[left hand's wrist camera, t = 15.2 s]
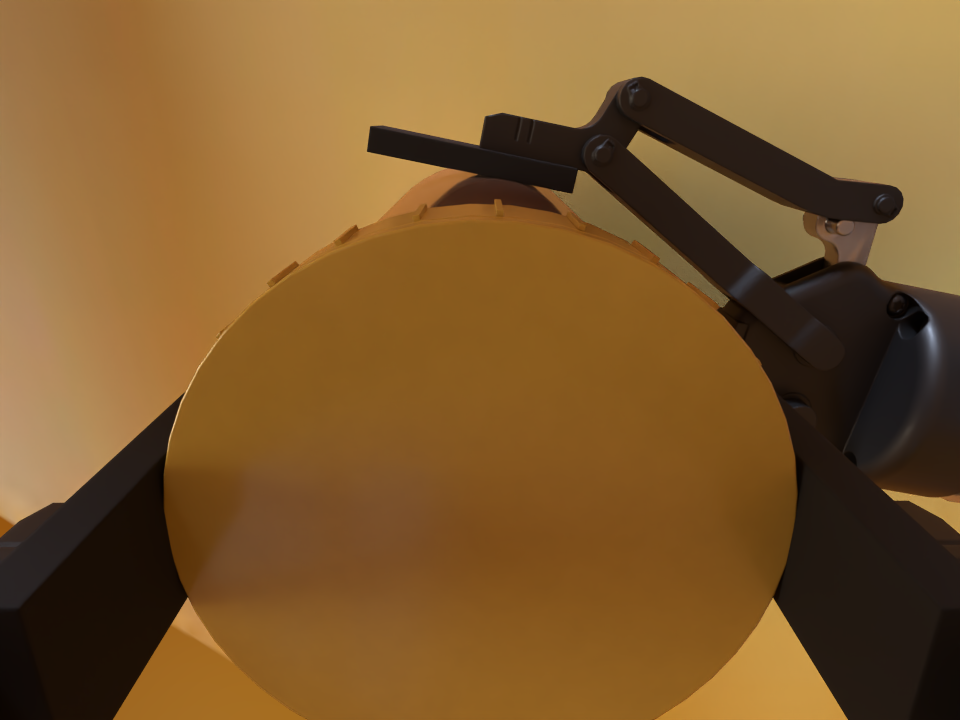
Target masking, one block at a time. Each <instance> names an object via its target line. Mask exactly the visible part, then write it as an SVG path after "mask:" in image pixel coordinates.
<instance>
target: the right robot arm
mask: <svg viewBox="0 0 960 720" xmlns="http://www.w3.org/2000/svg"><path fill="white" fill-rule="evenodd" d="M637 131H640V132H642V133H644V134H646V135H648V136H650V137H652V138H653V139H655V140H657V141H659V142H661V143H663V144H665V145H667V146H669V147H671V148H673V149H675V150H676V151H678V152H680V153H682V154H684V155H686V156H688V157H690V158H692V159H694V160H696V161H697V162H699V163H701V164H703V165H705V166H707V167H709V168H711V169H713V170H715V171H717V172H719V173H720V174H722V175H724V176H726V177H728V178H730V179H732V180H734V181H736V182H738V183H740V184H741V185H743V186H745V187H747V188H749V189H751V190H753V191H755V192H757V193H759V194H761V195H763V196H764V197H766V198H768V199H770V200H772V201H775V202H777V203H779V204H781V205H784V206H788V207H791V208H794V209H798V210H801V211H805V213H804V215H803V221H804V222H803V224H804V228H805V230H806V232H807V233H808V234H809V235H811V236H814V237H816V238H818V239H820V240H821V241H822V242H823V244H824V246H825V257H822V258H819V259H816V260H814V261H812V262H809V263H807V264H804V265H802V266H800V267H797V268H795V269H793V270H790V271H788V272H786V273H783V274H781V275H778V276H776V277H774V278H771V277H769V276H768V275H767V274H766V273H765V272H763V271H762V270H761V269H759V268H758V267H757V266H755V265H754V264H753V263H752V262H751V261H749V260H748V259H747V258H746V257H745V256H744V255H743V254H742V253H741V252H739V251H738V250H737V249H736V248H735V247H734V246H733V245H732V244H731V243H730V242H728V241H727V240H726V239H725V238H724V237H723V236H722V235H721V234H720V233H719V232H717V231H716V230H715V229H714V228H713V227H712V226H711V225H710V224H709V223H708V222H706V221H705V220H704V219H703V218H702V217H701V216H700V215H699V214H698V213H697V212H695V211H694V210H693V209H692V208H691V207H690V206H689V205H688V204H687V203H686V202H685V201H683V200H682V199H681V198H680V197H679V196H678V195H677V194H676V193H675V192H674V191H672V190H671V189H670V188H669V187H668V186H667V185H666V184H665V183H664V182H663V181H661V180H660V179H659V178H658V177H657V176H656V175H655V174H654V173H653V172H652V171H650V170H649V169H648V168H647V167H646V166H645V165H644V164H643V163H642V162H641V161H639V160H638V159H637V158H636V157H635V156H634V155H633V154H632V153H631V152H630V151H628V150H627V149H626V148H627V146H628V145H629V143H630V142H631V140H632V139H633V137H634V135H635V134H636V132H637ZM367 152H371V153H376V154H381V155H386V156H391V157H395V158H400V159H405V160H410V161H415V162H420V163H425V164H430V165H435V166H440V167H444V168H449V169H454V170H459V171H464V172H469V173H474V174H479V175H484V176H489V177H493V178H498V179H503V180H508V181H513V182H518V183H523V184H528V185H533V186H537V187H542V188H547V189H552V190H557V191H562V192H567V193H573V189H574V184H575V180H576V176H577V172H578V170H581V171H585V172H586V173H588V174H589V175H590V176H591V177H592V178H593V179H594V180H596V181H597V182H598V183H599V184H600V185H601V186H602V187H603V188H605V189H606V190H607V191H608V192H609V193H610V194H611V195H613V196H614V197H615V198H616V199H617V200H618V201H619V202H620V203H622V204H623V205H624V206H625V207H626V208H627V209H628V210H630V211H631V212H632V213H633V214H634V215H635V216H636V217H637V218H639V219H640V220H641V221H642V222H643V223H644V224H645V225H647V226H648V227H649V228H650V229H651V230H652V231H653V232H654V233H656V234H657V235H658V236H659V237H660V238H661V239H662V240H664V241H665V242H666V243H667V244H668V245H669V246H670V247H671V248H673V249H674V250H675V251H676V252H677V253H678V254H679V255H681V256H682V257H683V258H684V259H685V260H686V261H687V262H688V263H690V264H691V265H692V266H693V267H694V268H695V269H696V270H698V271H699V272H700V273H701V274H702V275H703V276H704V277H705V278H706V279H707V280H708V281H709V282H710V283H711V284H712V285H714V286H715V287H716V288H717V289H718V290H719V291H720V292H722V293H723V294H724V295H725V296H726V297H727V298H728V299H729V301H728V302H727V304H726V305H725V306H724V308H722V307H719V308H718V309H717V311H718V312H719V313H720V314H721V315H723V316H724V317H725V319H726V320H727V321H728V322H729V323H730V325H731V326H732V327H733V328H734V329H735V331H736V332H737V333H738V334H739V335H740V336H741V338H742V339H743V340H744V341H745V342H746V344H747V345H748V346H749V347H750V348H751V350H752V352H753V353H754V355H755V357H756V358H758V359H759V360H760V362H761V364H762V365H761V366H762V368H763V370H764V371H765V373H766V375H767V376H768V378H769V380H770V381H771V383H772V385H773V388H774V390H775V392H776V393H777V394H778V395H779V396H781V397H782V398H783V399H784V400H785V401H786V402H787V403H788V404H789V405H790V406H791V407H792V408H794V409H795V410H796V411H797V412H798V413H799V414H800V415H801V416H802V417H803V418H804V419H806V420H807V421H808V422H809V423H810V424H811V425H812V426H813V427H814V428H815V429H816V430H817V431H819V432H820V433H821V434H822V435H823V436H824V437H825V438H826V439H827V440H828V441H829V442H831V443H832V444H833V445H834V446H835V447H836V448H837V449H838V450H839V451H840V452H841V453H842V454H844V455H845V456H846V457H847V458H848V459H849V460H850V461H851V462H852V463H853V464H854V465H856V466H857V467H858V468H859V469H860V470H861V471H862V472H863V473H864V474H865V475H866V476H867V477H869V478H870V479H871V480H872V481H873V482H874V483H875V484H876V485H877V486H878V487H879V488H881V489H886V490H891V491H897V492H902V493H908V494H914V495H919V496H925V497H941V498H943V499H945V500H947V501H951V502H957V503H960V296H958V295H953V294H948V293H943V292H938V291H933V290H928V289H923V288H918V287H913V286H908V285H903V284H898V283H893V282H888V281H883V280H881V279H880V278H879V277H878V276H876V274H875V273H874V272H873V271H872V270H871V269H870V268H868V267H867V266H865V265H866V262H867V259H868V255H869V252H870V249H871V245H872V242H873V239H874V235H875V232H876V229H877V225H878V224H881V223H887V222H889V221H891V220H893V219H894V218H895V217H896V216H897V215H898V214H899V212H900V211H901V209H902V207H903V196H902V193H901V192H900V190H899V189H898V188H896V187H893V186H890V185H884V184H878V183H872V182H865V181H859V180H853V179H844V178H834V177H831V176H829V175H827V174H825V173H824V172H822V171H820V170H818V169H816V168H814V167H812V166H811V165H809V164H807V163H805V162H803V161H801V160H799V159H798V158H796V157H794V156H792V155H790V154H788V153H786V152H785V151H783V150H781V149H779V148H777V147H775V146H773V145H772V144H770V143H768V142H766V141H764V140H762V139H760V138H759V137H757V136H755V135H753V134H751V133H749V132H747V131H746V130H744V129H742V128H740V127H738V126H736V125H734V124H733V123H731V122H729V121H727V120H725V119H723V118H721V117H720V116H718V115H716V114H714V113H712V112H710V111H708V110H707V109H705V108H703V107H701V106H699V105H697V104H695V103H693V102H692V101H690V100H688V99H686V98H684V97H682V96H680V95H679V94H677V93H675V92H673V91H671V90H669V89H667V88H666V87H664V86H662V85H660V84H658V83H656V82H654V81H653V80H651V79H648V78H645V77H637V78H632V79H628V80H625V81H621V82H618V83H616V84H615V85H613V86H612V87H611V88H610V89H609V91H608V92H607V95H606V98H605V100H604V102H603V104H602V105H601V107H600V108H599V110H598V112H597V113H596V115H595V116H594V118H593V119H592V120H591V121H590V122H589V123H588V124H586V125H584V126H582V127H579V128H572V127H567V126H562V125H557V124H553V123H548V122H543V121H538V120H533V119H529V118H524V117H519V116H515V115H510V114H505V113H499V114H494V115H489V116H485V119H484V124H483V130H482V135H481V140H480V146H479V145H474V144H469V143H464V142H459V141H455V140H450V139H445V138H440V137H435V136H430V135H426V134H421V133H416V132H411V131H406V130H401V129H397V128H392V127H387V126H370V133H369V140H368V148H367Z"/></svg>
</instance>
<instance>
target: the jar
mask: <svg viewBox="0 0 960 720" xmlns="http://www.w3.org/2000/svg"><path fill="white" fill-rule="evenodd" d="M495 199H501V202H502V205H513V206H519V207H525V208H531V209H537V210H543V211H549V212H553V213H556V214H560V215H563V216H566V215H567V212H568V211H569V212H572V213H574V212H573V211H572V210H571V209H570V208H569V207H568V206H567V205H566V204H565V203H564V202H563V201H562V200H561V199H560V198H559V197H558V196H557V195H555V194H554V193H553V192H552V191H551V190H550V189H547V188H542V187H537V186H533V185H528V184H523V183H518V182H513V181H508V180H503V179H498V178H493V177H489V176H484V175H479V174H474V173H469V172H464V171H459V170H454V169H449V168H447V169H444V170H442V171H439V172H436V173H434V174H432V175H431V176H429V177H427V178H425V179H423V180H422V181H420V182H419V183H418V184H416V185H415V186H414V187H412V188H411V189H410V190H409V191H408V192H407V193H406V194H405V195H404V196H403V197H402V198H401V199H400V200H399V201H398V202H397V203H396V204H395V205H394V206H393V207H392V208H391V209H390V210H389V211H387V212H386V213H385V214H384V215H383V216H382V217H381V218H380V219H379V220H378V221H377V222H379V221H381V220H384V219H387V218H389V217H393V216H397V215H402V214H406V213H410V212H414V211H416V210H417V208H418V207H419V206H420V205H421V204H427V208H433V207H443V206H453V205H463V204H491V205H494V200H495ZM574 214H575V213H574ZM575 215H576V214H575ZM576 216H577V215H576ZM577 217H578V216H577ZM578 218H579V217H578ZM579 219H580V218H579ZM580 220H581V219H580ZM581 221H582V220H581ZM582 222H583V221H582Z"/></svg>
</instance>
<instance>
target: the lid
mask: <svg viewBox="0 0 960 720" xmlns="http://www.w3.org/2000/svg"><path fill="white" fill-rule="evenodd" d="M659 260H660V258H658V257H657V256H656V255H655V254H653V253H652V252H651V251H649V250H648V249H647V248H645V247H644V246H643V245H641V244H640V243H639V242H637V241H635V240H634V241H633V242H632V244H630V243H629V242H627V241H625V240H623V239H621V238H619V237H617V236H615V235H613V234H610V233H608V232H606V231H604V230H602V229H600V228H598V227H596V226H593V225H591V224H589V223H585V222H582V221H581V220H580V219H579V218H578V217H577V216H576V215H575V214H574V213H572V212H569V211H568V212H567V215H566V216H563V215H560V214H556V213H553V212H549V211H543V210H537V209H531V208H525V207H519V206H513V205H502V202H501V199H495V200H494V205H491V204H463V205H453V206H443V207H433V208H427V204H421V205H420V206H419V207H418V208H417V210H416V211H414V212H410V213H406V214H402V215H397V216H393V217H389V218H387V219H384V220H381V221H379V222H376V223H374V224H371V225H369V226H366V227H363V228H361V229H358V227H357V225H354V226H352V227H350V228H349V229H348V230H347V231H345V232H344V233H343V234H342V235H340V236H339V237H338V238H337V239H336V240H334V242H333V243H331V244H329V245H328V246H326V247H324V248H322V249H321V250H319V251H317V252H316V253H315V254H313V255H312V256H311V257H309V258H308V259H307V260H305V261H304V262H303V263H301V264H300V265H299V264H298V263H297V262H296V261H295V262H293V263H292V264H291V265H289V266H288V267H287V268H285V269H284V270H283V271H282V272H280V273H279V274H278V275H276V276H275V277H274V278H272V279H271V280H270V281H268V282H267V284H268V285H269V287H270V288H269V289H268V290H267V291H266V292H264V293H263V294H262V295H261V296H259V297H258V298H257V299H255V300H254V301H253V302H252V303H251V304H250V305H249V306H248V307H247V308H246V309H245V310H244V311H243V312H242V313H241V314H240V315H239V316H238V317H237V318H236V319H235V320H234V321H233V322H232V323H230V324H229V325H228V326H227V327H225V328H224V329H223V330H222V331H221V332H219V334H218V335H217V336H216V338H218V340H217V341H216V342H215V344H214V345H213V347H212V348H211V349H210V351H209V352H208V354H207V355H206V356H205V358H204V359H203V361H202V362H201V363H200V365H199V366H198V368H197V370H196V372H195V374H194V376H193V378H192V380H191V382H190V384H189V386H188V388H187V390H186V392H185V394H184V396H183V398H182V400H181V402H180V406H179V409H178V412H177V415H176V418H175V421H174V424H173V427H172V431H171V434H170V437H169V442H168V449H167V455H166V462H165V469H164V513H165V519H166V524H167V529H168V535H169V540H170V545H171V550H172V554H173V559H174V563H175V566H176V569H177V572H178V576H179V579H180V581H181V583H182V585H183V587H184V589H185V592H186V594H187V596H188V598H189V600H190V602H191V604H192V606H193V608H194V610H195V612H196V614H197V615H198V617H199V618H200V620H201V621H202V623H203V624H204V626H205V627H206V629H207V630H208V632H209V633H210V635H211V636H212V638H213V639H214V641H215V642H216V643H217V644H218V645H219V646H220V648H221V649H222V650H223V651H224V652H225V653H226V655H227V656H228V657H229V658H230V659H231V660H232V662H233V663H234V664H235V665H236V666H237V667H238V668H239V669H240V670H241V671H242V672H243V673H244V674H246V675H247V676H248V677H249V678H250V679H251V680H252V681H253V682H254V683H255V684H257V685H258V686H259V687H260V688H261V689H262V690H263V691H265V692H266V693H268V694H269V695H270V696H272V697H273V698H274V699H276V700H277V701H279V702H280V703H281V704H283V705H284V706H285V707H287V708H288V709H290V710H291V711H293V712H295V713H297V714H298V715H300V716H302V717H304V718H305V719H307V720H654V719H656V718H658V717H659V716H661V715H662V714H664V713H665V712H667V711H669V710H670V709H672V708H673V707H675V706H676V705H678V704H679V703H681V702H683V701H684V700H686V699H687V698H688V697H689V696H691V695H692V694H693V693H694V692H695V691H697V690H698V689H699V688H700V687H702V686H703V685H704V684H705V683H706V682H708V681H709V680H710V679H711V678H713V677H714V675H715V674H716V673H717V672H718V671H719V670H720V669H721V668H722V667H723V666H724V665H725V664H726V663H727V662H728V661H729V660H730V659H731V658H732V657H733V656H734V655H735V654H736V653H737V651H738V650H739V649H740V647H741V646H742V645H743V643H744V642H745V641H746V639H747V638H748V637H749V635H750V634H751V633H752V631H753V630H754V629H755V627H756V626H757V625H758V623H759V621H760V619H761V618H762V616H763V614H764V612H765V610H766V609H767V607H768V605H769V603H770V602H771V600H772V598H773V596H774V594H775V592H776V589H777V587H778V584H779V582H780V579H781V576H782V574H783V571H784V569H785V566H786V563H787V558H788V553H789V548H790V543H791V538H792V534H793V529H794V523H795V517H796V509H797V497H798V489H797V476H796V462H795V453H794V449H793V445H792V441H791V436H790V432H789V428H788V424H787V420H786V417H785V414H784V412H783V410H782V407H781V405H780V402H779V400H778V397H777V395H776V393H775V390H774V388H773V385H772V383H771V381H770V380H769V378H768V376H767V375H766V373H765V371H764V370H763V368H762V366H761V365H762V364H761V362H760V360H759V359H758V358H756V357H755V355H754V353H753V352H752V350H751V348H750V347H749V346H748V345H747V344H746V342H745V341H744V340H743V339H742V338H741V336H740V335H739V334H738V333H737V332H736V331H735V329H734V328H733V327H732V326H731V325H730V323H729V322H728V321H727V320H726V319H725V317H724V316H723V315H721V314H720V313H719V312H718V311H717V309H718V308H719V305H718V304H717V303H716V302H714V301H713V300H712V299H710V298H709V297H708V296H707V295H705V294H704V293H703V292H701V291H700V290H699V289H697V288H696V287H695V286H694V285H692V284H691V283H690V282H688V283H687V284H686V283H684V282H683V281H682V280H681V279H679V278H678V277H677V276H676V275H674V274H673V273H672V272H671V271H669V270H668V269H667V268H665V267H664V266H663V265H662V264H660V263H659Z"/></svg>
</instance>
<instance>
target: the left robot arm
mask: <svg viewBox="0 0 960 720" xmlns="http://www.w3.org/2000/svg"><path fill="white" fill-rule="evenodd" d="M775 393H776V392H775ZM184 394H185V393H183V394H182V395H181V396H180V397H179V398H178V399H177V400H176V401H175V402H174V403H173V404H172V405H170V406H169V407H168V408H167V409H166V410H165V411H164V412H163V413H162V414H161V415H160V416H158V417H157V418H156V419H155V420H154V421H153V422H152V423H151V424H150V425H149V426H148V427H147V428H145V429H144V430H143V431H142V432H141V433H140V434H139V435H138V436H137V437H136V438H135V439H133V440H132V441H131V442H130V443H129V444H128V445H127V446H126V447H125V448H124V449H123V450H122V451H120V452H119V453H118V454H117V455H116V456H115V457H114V458H113V459H112V460H111V461H110V462H108V463H107V464H106V465H105V466H104V467H103V468H102V469H101V470H100V471H99V472H98V473H97V474H95V475H94V476H93V477H92V478H91V479H90V480H89V481H88V482H87V483H86V484H85V485H83V486H82V487H81V488H80V489H79V490H78V491H77V492H76V493H75V494H74V495H73V496H72V497H70V498H69V499H68V500H67V501H66V502H65V503H52V504H50V505H48V506H46V507H45V508H43V509H41V510H39V511H37V512H35V513H34V514H32V515H30V516H28V517H26V518H24V519H23V520H21V521H19V522H18V523H17V524H16V525H14V526H13V527H12V528H11V529H10V530H9V531H8V532H6V533H5V534H4V535H3V536H2V537H1V538H0V720H113V718H114V717H115V715H116V713H117V712H118V710H119V708H120V707H121V705H122V704H123V702H124V700H125V699H126V697H127V695H128V694H129V692H130V691H131V689H132V687H133V686H134V684H135V682H136V681H137V679H138V678H139V676H140V674H141V673H142V671H143V669H144V668H145V666H146V664H147V663H148V661H149V660H150V658H151V656H152V655H153V653H154V651H155V650H156V648H157V647H158V645H159V643H160V642H161V640H162V638H163V637H164V635H165V633H166V632H167V630H168V628H169V627H170V625H171V624H172V622H173V620H174V619H175V617H176V616H177V614H178V612H179V611H180V609H181V607H182V606H183V604H184V602H185V601H186V599H187V598H188V596H187V594H186V592H185V589H184V587H183V585H182V583H181V581H180V579H179V576H178V572H177V569H176V566H175V563H174V559H173V554H172V550H171V545H170V540H169V535H168V529H167V524H166V519H165V513H164V469H165V462H166V455H167V449H168V442H169V437H170V434H171V431H172V427H173V424H174V421H175V418H176V415H177V412H178V409H179V406H180V402H181V400H182V398H183V396H184ZM776 395H777V397H778V400H779V402H780V405H781V407H782V410H783V412H784V414H785V417H786V420H787V424H788V428H789V432H790V436H791V441H792V445H793V449H794V453H795V462H796V476H797V489H798V497H797V509H796V517H795V523H794V529H793V534H792V538H791V543H790V548H789V553H788V558H787V563H786V566H785V569H784V571H783V574H782V576H781V579H780V582H779V584H778V587H777V589H776V592H775V594H774V596H773V598H774V600H775V601H776V603H777V605H778V606H779V608H780V610H781V611H782V613H783V614H784V616H785V618H786V619H787V621H788V623H789V624H790V626H791V627H792V629H793V631H794V632H795V634H796V636H797V637H798V639H799V641H800V642H801V644H802V645H803V647H804V649H805V650H806V652H807V654H808V655H809V657H810V658H811V660H812V662H813V663H814V665H815V667H816V668H817V670H818V672H819V673H820V675H821V676H822V678H823V680H824V681H825V683H826V685H827V686H828V688H829V689H830V691H831V693H832V694H833V696H834V698H835V699H836V701H837V702H838V704H839V706H840V707H841V709H842V711H843V712H844V714H845V716H846V717H847V719H848V720H960V534H959V533H958V532H957V531H955V530H954V529H953V528H952V527H951V526H950V525H948V524H947V523H946V522H945V521H944V520H943V519H941V518H939V517H937V516H936V515H934V514H932V513H930V512H928V511H926V510H924V509H923V508H921V507H919V506H917V505H915V504H913V503H911V502H910V501H894V500H892V499H891V498H890V497H889V496H888V495H887V494H886V493H885V492H884V491H883V490H882V489H881V488H879V487H878V486H877V485H876V484H875V483H874V482H873V481H872V480H871V479H870V478H869V477H867V476H866V475H865V474H864V473H863V472H862V471H861V470H860V469H859V468H858V467H857V466H856V465H854V464H853V463H852V462H851V461H850V460H849V459H848V458H847V457H846V456H845V455H844V454H842V453H841V452H840V451H839V450H838V449H837V448H836V447H835V446H834V445H833V444H832V443H831V442H829V441H828V440H827V439H826V438H825V437H824V436H823V435H822V434H821V433H820V432H819V431H817V430H816V429H815V428H814V427H813V426H812V425H811V424H810V423H809V422H808V421H807V420H806V419H804V418H803V417H802V416H801V415H800V414H799V413H798V412H797V411H796V410H795V409H794V408H792V407H791V406H790V405H789V404H788V403H787V402H786V401H785V400H784V399H783V398H782V397H781V396H779V395H778V394H777V393H776Z"/></svg>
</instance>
